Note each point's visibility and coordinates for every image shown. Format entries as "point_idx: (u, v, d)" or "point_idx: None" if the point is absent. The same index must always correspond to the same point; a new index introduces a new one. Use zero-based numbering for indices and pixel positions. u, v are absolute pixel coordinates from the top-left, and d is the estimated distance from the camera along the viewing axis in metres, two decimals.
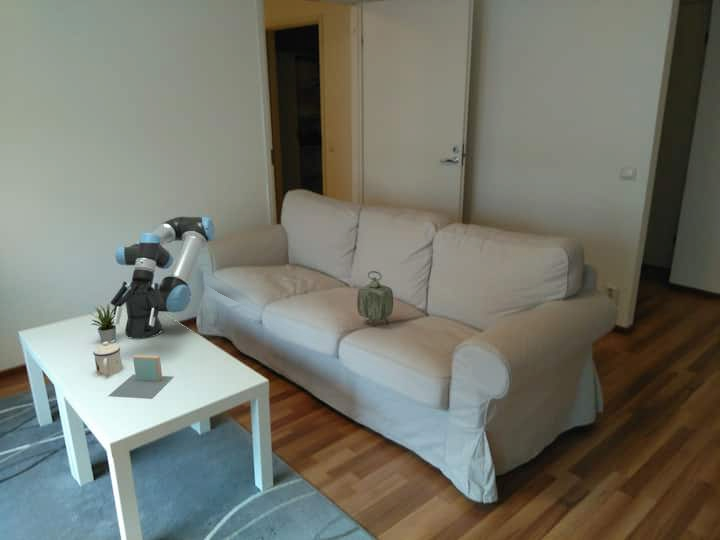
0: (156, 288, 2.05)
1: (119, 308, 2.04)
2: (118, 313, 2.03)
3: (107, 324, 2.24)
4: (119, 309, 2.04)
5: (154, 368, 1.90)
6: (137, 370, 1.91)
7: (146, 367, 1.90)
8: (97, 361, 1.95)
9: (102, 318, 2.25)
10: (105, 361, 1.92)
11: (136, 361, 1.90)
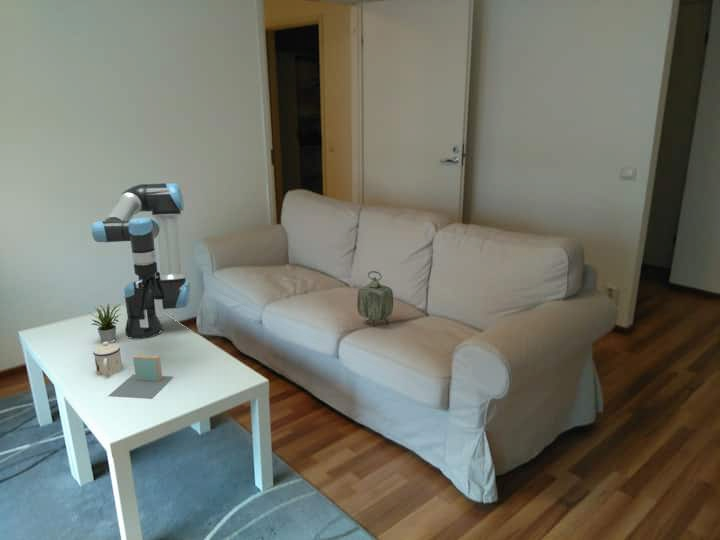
0: (159, 277, 1.96)
1: None
2: None
3: (107, 324, 2.24)
4: None
5: (154, 368, 1.90)
6: (137, 370, 1.91)
7: (146, 367, 1.90)
8: (97, 361, 1.95)
9: (102, 318, 2.25)
10: (105, 361, 1.92)
11: (136, 361, 1.90)
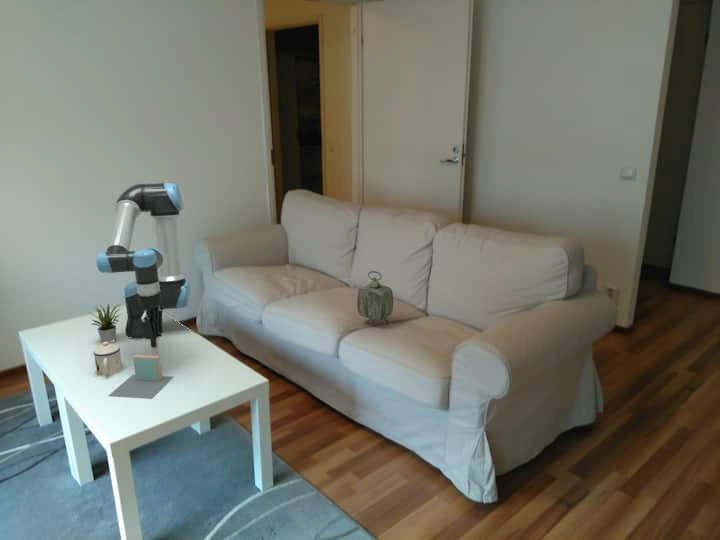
0: (161, 312, 1.98)
1: None
2: None
3: (107, 324, 2.24)
4: None
5: (154, 368, 1.90)
6: (137, 370, 1.91)
7: (146, 367, 1.90)
8: (97, 361, 1.95)
9: (102, 318, 2.25)
10: (105, 361, 1.92)
11: (136, 361, 1.90)
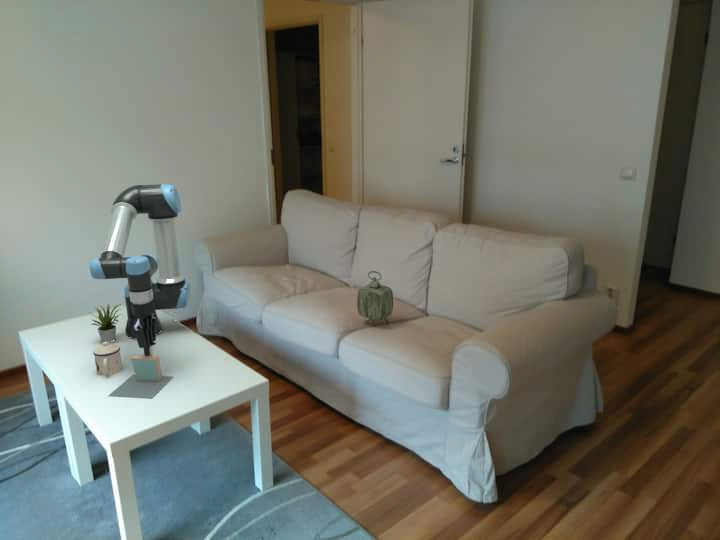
0: (155, 320, 1.94)
1: None
2: None
3: (107, 324, 2.24)
4: None
5: (154, 369, 1.89)
6: (137, 370, 1.91)
7: (145, 368, 1.90)
8: (97, 361, 1.95)
9: (102, 318, 2.25)
10: (105, 361, 1.92)
11: (135, 362, 1.90)
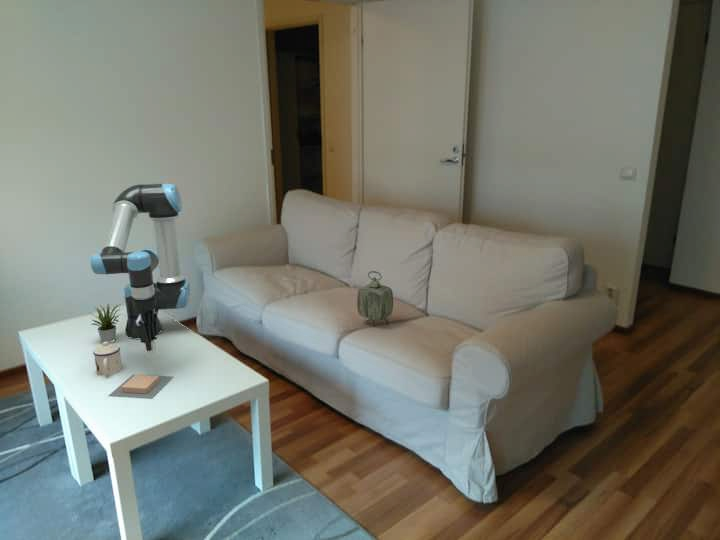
0: (156, 314, 1.95)
1: None
2: None
3: (107, 324, 2.24)
4: None
5: None
6: None
7: None
8: (97, 361, 1.95)
9: (102, 318, 2.25)
10: (105, 361, 1.92)
11: None
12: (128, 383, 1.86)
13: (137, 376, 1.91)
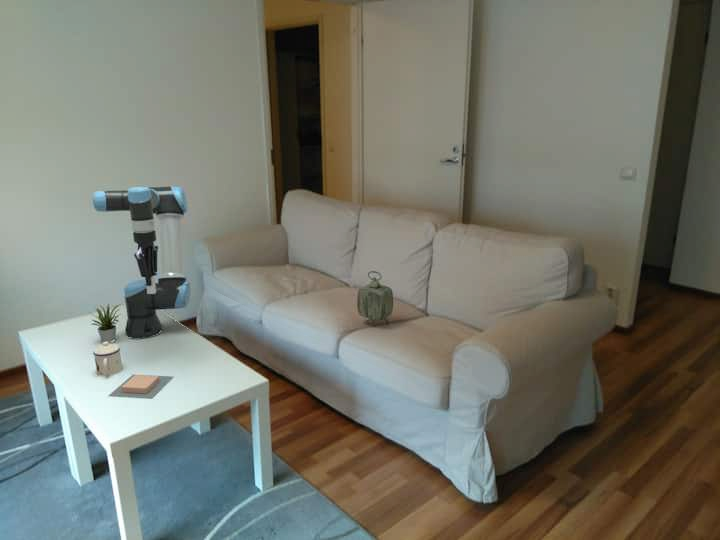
0: (156, 251, 1.99)
1: None
2: None
3: (107, 324, 2.24)
4: None
5: None
6: None
7: None
8: (97, 361, 1.95)
9: (102, 318, 2.25)
10: (105, 361, 1.92)
11: None
12: (128, 383, 1.86)
13: (137, 376, 1.91)
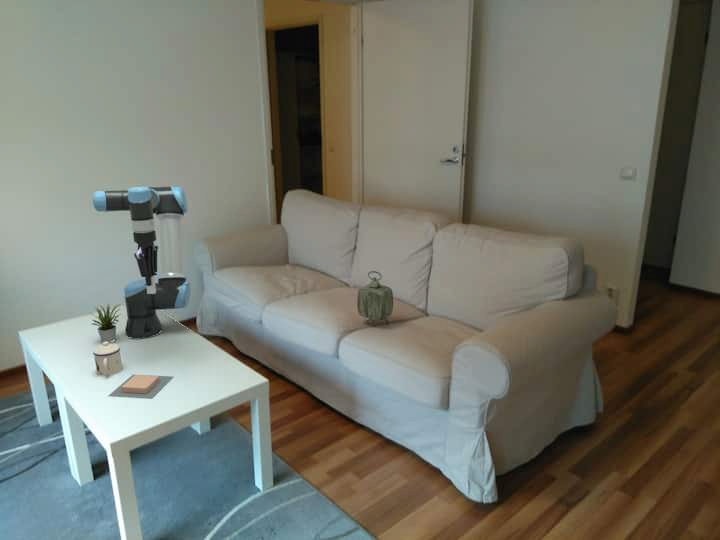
0: (156, 251, 1.99)
1: None
2: None
3: (107, 324, 2.24)
4: None
5: None
6: None
7: None
8: (97, 361, 1.95)
9: (102, 318, 2.25)
10: (105, 361, 1.92)
11: None
12: (128, 383, 1.86)
13: (137, 376, 1.91)
